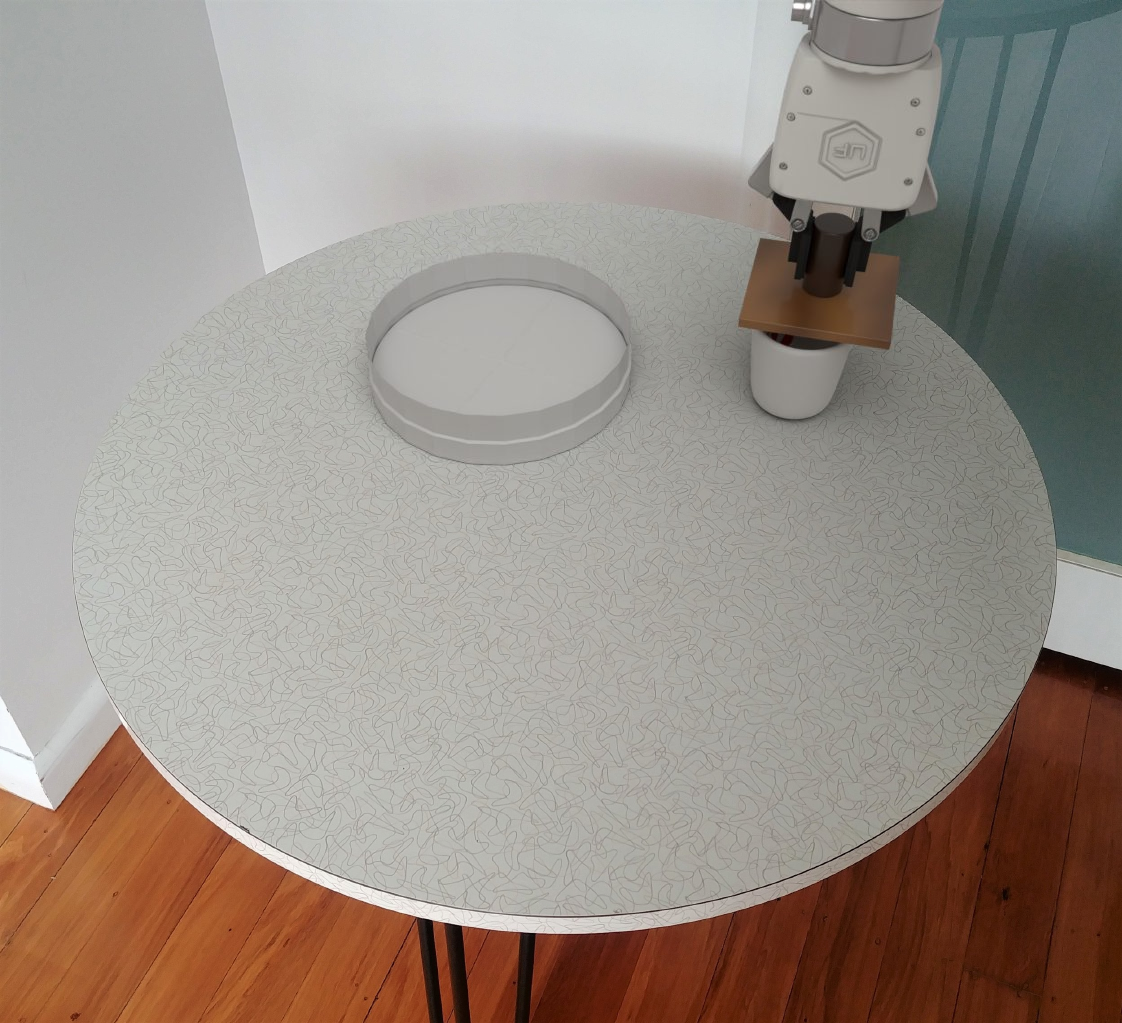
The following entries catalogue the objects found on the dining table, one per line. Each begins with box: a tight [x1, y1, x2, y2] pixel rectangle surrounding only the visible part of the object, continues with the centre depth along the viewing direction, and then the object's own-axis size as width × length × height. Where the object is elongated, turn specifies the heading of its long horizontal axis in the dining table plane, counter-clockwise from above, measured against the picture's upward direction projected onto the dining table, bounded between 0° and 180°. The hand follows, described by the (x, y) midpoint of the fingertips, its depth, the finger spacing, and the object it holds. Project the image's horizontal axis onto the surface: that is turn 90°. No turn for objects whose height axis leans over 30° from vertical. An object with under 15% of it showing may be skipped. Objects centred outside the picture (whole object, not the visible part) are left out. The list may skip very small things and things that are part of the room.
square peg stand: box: [737, 212, 901, 351], centre depth 79 cm, size 11×11×6 cm
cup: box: [750, 329, 855, 420], centre depth 85 cm, size 11×8×8 cm
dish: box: [365, 251, 633, 466], centre depth 89 cm, size 22×22×5 cm
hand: (825, 271), depth 80 cm, fingers closed on square peg stand, 3 cm apart
